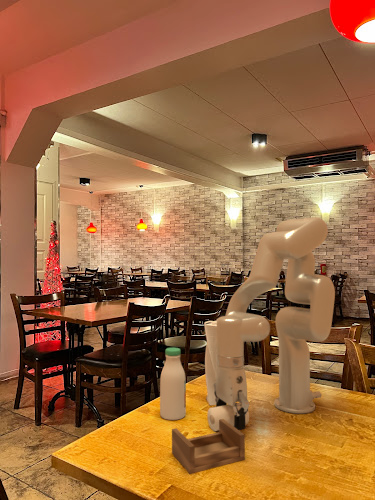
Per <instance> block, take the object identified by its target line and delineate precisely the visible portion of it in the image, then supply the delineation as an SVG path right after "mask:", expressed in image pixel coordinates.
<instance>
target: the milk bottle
mask: <svg viewBox="0 0 375 500" xmlns="http://www.w3.org/2000/svg"><path fill="white" fill-rule="evenodd" d="M164 352H165V362H164V366H163V367H162V371H161V374H160V379H159V380H160V381H159V382H160V383H159V384H160V385H159V387H160V388H159V389H160V390H159V392H160V393H159V394H160V395H159V398H160V399H159V407H160V408H159V409H160V411H159V412H160V413H159V414H160V417H161V418H162V419H165V420H168V421H175V420H176V421H177V420H182V419H183V418H184V417H186V415H187V412H186V411H187V400H186V398H187V396H186V395H187V393H186V391H187V390H186V388H187V387H186V385H187V384H186V373H185V370H184V368H183V365H182V361H181V348H178V347H167V348H166V349H165V351H164Z"/></svg>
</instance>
